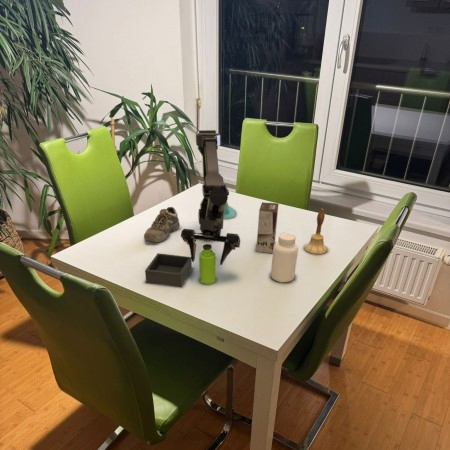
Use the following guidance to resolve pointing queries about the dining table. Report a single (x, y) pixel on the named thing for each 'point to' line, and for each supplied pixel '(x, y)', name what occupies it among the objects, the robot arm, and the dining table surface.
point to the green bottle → (207, 265)
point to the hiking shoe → (163, 225)
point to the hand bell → (317, 237)
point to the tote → (168, 269)
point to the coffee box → (267, 227)
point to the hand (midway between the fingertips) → (206, 263)
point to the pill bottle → (284, 258)
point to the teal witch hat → (228, 212)
